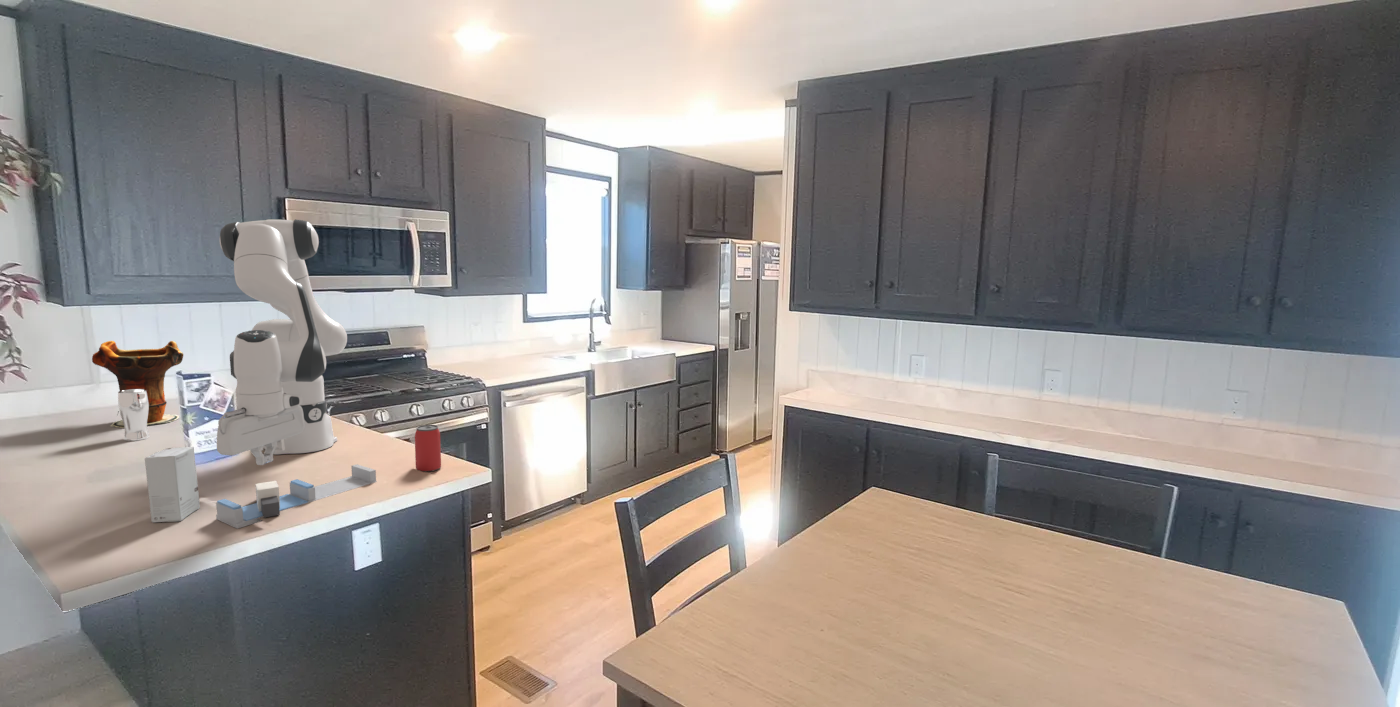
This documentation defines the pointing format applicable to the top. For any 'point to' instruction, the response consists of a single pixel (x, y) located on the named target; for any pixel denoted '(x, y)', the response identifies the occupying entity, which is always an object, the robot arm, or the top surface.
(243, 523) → the slider rail
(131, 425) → the beer glass
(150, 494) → the skincare box
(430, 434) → the beer can
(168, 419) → the decorative vase
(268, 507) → the grey post with collar
